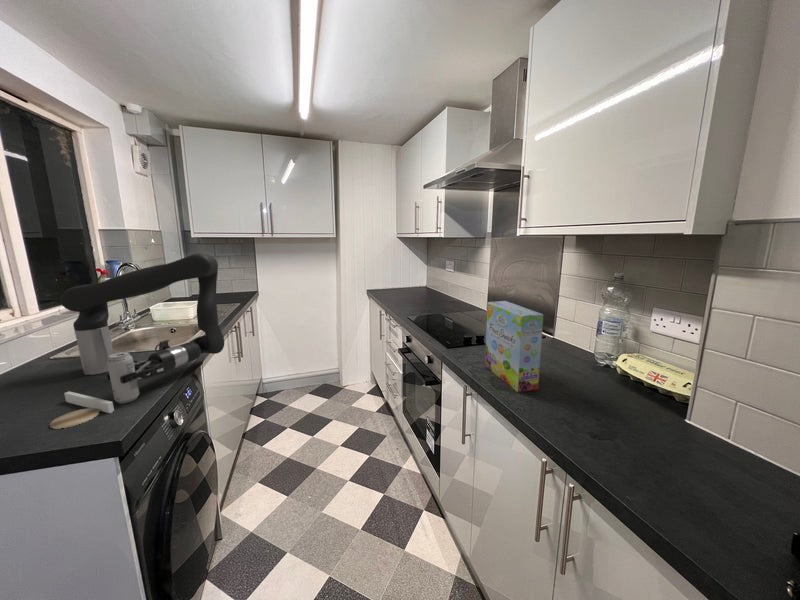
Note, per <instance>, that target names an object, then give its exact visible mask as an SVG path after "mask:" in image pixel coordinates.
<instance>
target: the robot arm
mask: <svg viewBox="0 0 800 600" xmlns="http://www.w3.org/2000/svg"><path fill="white" fill-rule="evenodd" d="M218 271H219V263H218V261H217V259H216V258H215V257H214V256H213V255H211V254H208V253H193V254H190V255H188V256H185V257H183V258H180V259H177V260H175V261H172V262H168V263H164V264H158V265H151V266H148V267H143V268H139V269H137V270H133V271H129V272H127V273H123V274H120V275H117V276H115V277H112V278H109V279H107V280H104V281H102V282H97V283H91V284H90V283H89V284H88V283H87V284H82V285H78V286H72V287H70V288H68V289H66V290H65V291H63V293H62V294H61V296H60V299H59V300H60V304H61V305H62V307H63V308H65V309H66V310H68V311H71V312H76V313H77V312H78V313H79V314H78V316H77V318H76V319H75V320H74V322H73V329H74V335H75V339H76V344H77V348H78V351H79V352H78V354H79V356H80V362H81V366H82V370H83V374H84V375H85V376H87V375H88V376H95V375H99V374H103V373H106V374H105V377H106V378H105V379H106V380H107V381H108V382H109V381H110V382H111V380H110V375H109V371H108V366H107V361H108V359H109V356H110V355H112V354H115V353H114V348H113V344H112V338H111V334H110V330H109V329H110V328H109V324H108V320H109V316H110V315H109V314H110V313H109V305H108V303H109V302H112V301H118V300H119V301H120V300H124V299H129V298H135V297H138V296H139V297H140V296H143V295H147V294H150V293H154V292H156V291H160V290H163V289H165V288H167V287H169V286H171V285H172V284H175V283H178V282H180V281H181V282H182V281H185V280H186V281H187V280H191V279H197V281H198V288H199V290H198V298H197V303H196V318H197V326H198V329H199V330H200V331H202V332H204V334H205V335H200V336H198V337H196V338H193V339H192V340H190V341H189V342H186V343H185V342H184V343H183V344H179V345H175V346H170V348H168V349H165V350H162V351H159V350H158V351H159V352H156V351H155V352H152V353H151V354H150V355H149V356H148V359H147V360H145V359H144V360H140V361H139V362H138V360H133V362H134V368H135V372H132V373H130V374H127V375H124V376H121V377H120V381H121V383H123V384H124V383H127V382H130V381H132V380H135V379H137V380H141V379H142V380H147V379H150V378H152V377H154V376H158V375H163V374H164V373H167V372H170V371H171V370H174V369H177V368H180V367H181V366H184V365H185V364H188V363H191V362H194V361H195V360H197V359H199V358H200V357H201V355H202V354H211V355H215V354H219V353H221V352H222V351H223V350H224V348H225V337H224V335H223V332H222V329H221V327H220V325H219V314H218V305H217V285H218V284H217V282H218V281H217V280H218V273H219V272H218Z"/></svg>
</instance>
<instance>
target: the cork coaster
mask: <svg viewBox="0 0 800 600" xmlns="http://www.w3.org/2000/svg"><path fill="white" fill-rule="evenodd" d="M99 412H101V411H99V409H96V408H88V407H86V408H82V409H78V410H73V411H70V412H67V413H65V414H63V415H60V416H58V417H56V418H54V420H52V421H51V422H50V423H49V428H51V429H52V428H53V429H52V430H62V429H61V428H64V429H67V428H68V427H69V428H72V427H76V425H77V426H80V425H82V423H83V424H84V423H85V424H86V423H87V422H90V421H91V420H93V419H95V418H96V417H98V416H99V414H100V413H99ZM94 417H95V418H94ZM89 420H90V421H89ZM79 424H80V425H79Z"/></svg>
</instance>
